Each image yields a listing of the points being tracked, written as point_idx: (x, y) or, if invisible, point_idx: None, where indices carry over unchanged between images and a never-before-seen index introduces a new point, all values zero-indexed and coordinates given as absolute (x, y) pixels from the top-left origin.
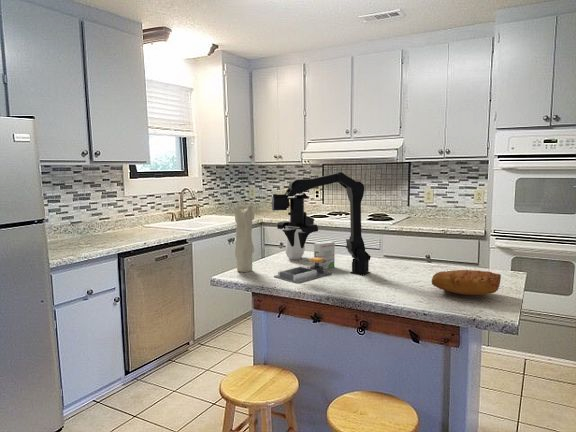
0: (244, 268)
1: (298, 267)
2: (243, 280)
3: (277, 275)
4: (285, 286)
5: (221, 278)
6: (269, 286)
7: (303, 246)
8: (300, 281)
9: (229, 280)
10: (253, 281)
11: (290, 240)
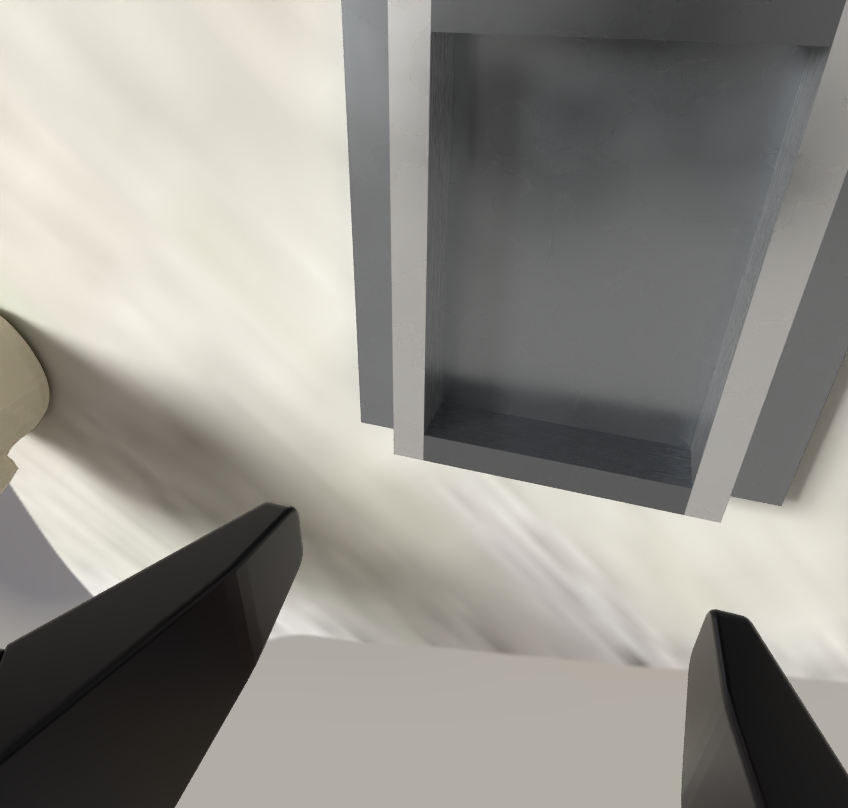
0: (24, 435)
1: (426, 71)
2: None
3: (378, 395)
4: None
5: None
6: (575, 658)
7: (768, 676)
8: (796, 463)
9: None
10: (353, 592)
11: (191, 766)
